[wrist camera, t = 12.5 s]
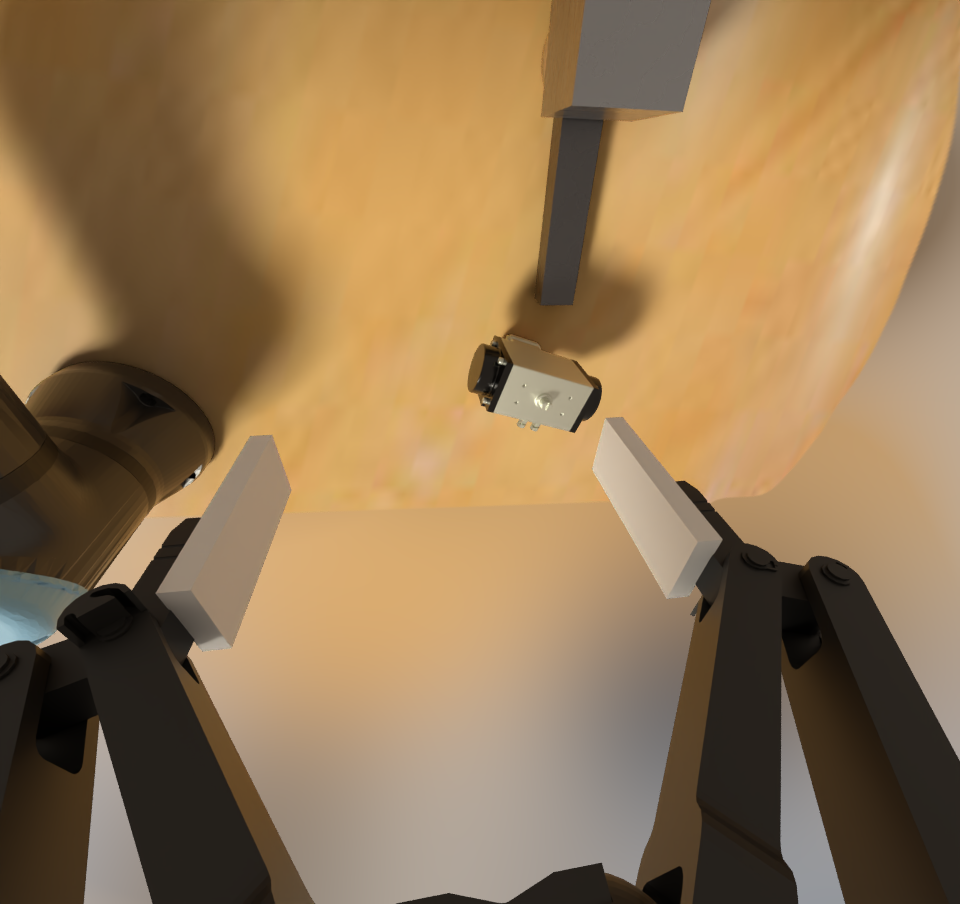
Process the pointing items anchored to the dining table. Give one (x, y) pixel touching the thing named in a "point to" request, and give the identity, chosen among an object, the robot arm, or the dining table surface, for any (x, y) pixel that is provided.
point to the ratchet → (565, 204)
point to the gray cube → (621, 57)
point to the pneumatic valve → (532, 384)
